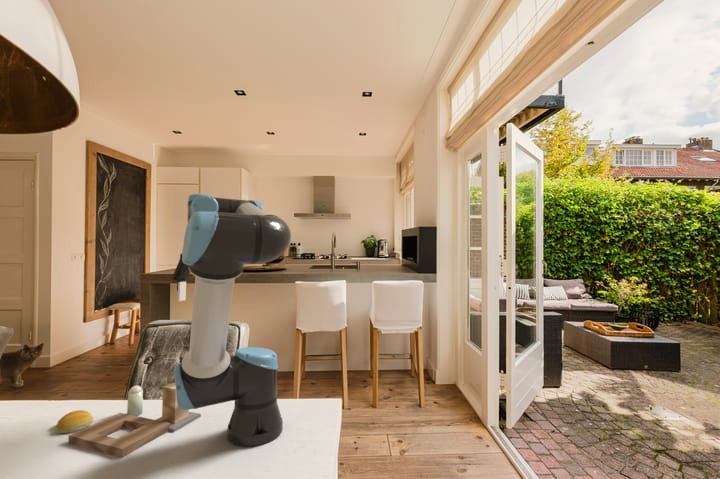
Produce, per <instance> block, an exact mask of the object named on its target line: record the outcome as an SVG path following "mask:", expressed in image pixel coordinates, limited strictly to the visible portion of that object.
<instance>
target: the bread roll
mask: <svg viewBox="0 0 720 479" xmlns="http://www.w3.org/2000/svg"><path fill="white" fill-rule="evenodd" d="M93 421H94V417H93V415H92V413H91V412H89V411H88V410H87V411H86V410H83V409H82V410H80V409H79V410H74V411H71V412H68V413H66V414H65V415H64V416H62V417H61V418H59V420H58V422H57V423H56V432H57V434H73V433H75V432H78V431H80V430H82V429H84V428H87V427H89V426H91V425H93Z"/></svg>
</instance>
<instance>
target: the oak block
mask: <svg viewBox="0 0 720 479" xmlns="http://www.w3.org/2000/svg"><path fill="white" fill-rule="evenodd" d="M161 410H162V411H161V417H162V421H164V422H168V423H173V424H175V423H177V422H179V421H181V420H183V419H184V418H186V417H188V412H190V411H189V410H190V409H189V410H182V409H180V408H179V407H178V403H177V395H176V384H175V381H174V382H172V383H170V384H167V385H165V386H163V387H162V409H161Z"/></svg>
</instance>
